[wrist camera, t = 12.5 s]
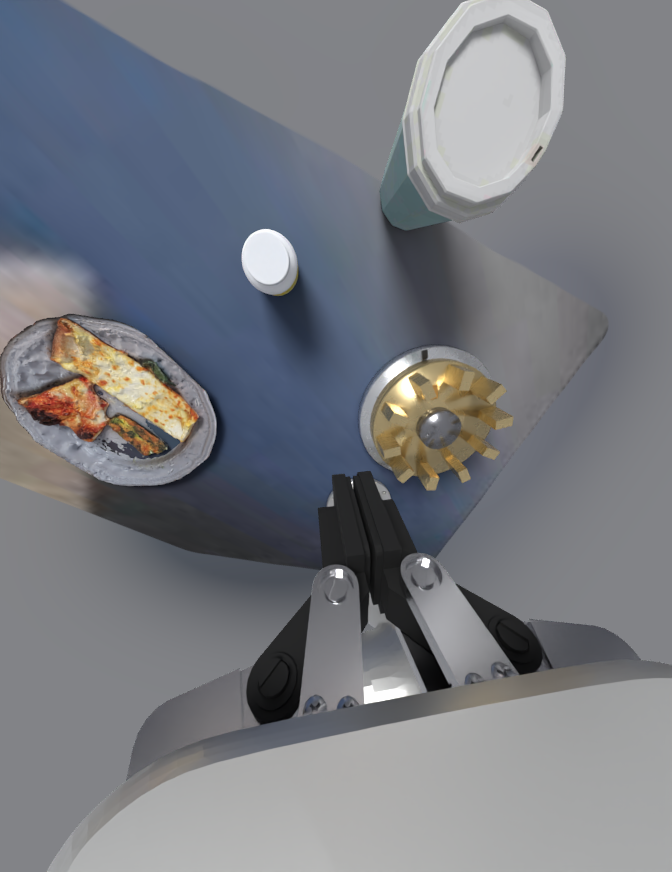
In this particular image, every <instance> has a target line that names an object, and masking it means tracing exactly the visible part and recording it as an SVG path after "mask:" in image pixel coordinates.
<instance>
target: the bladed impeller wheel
mask: <svg viewBox="0 0 672 872" xmlns="http://www.w3.org/2000/svg"><path fill="white" fill-rule="evenodd" d="M505 392H506V389H505V388H504V387H503V386H502V384H499V383H497V382H495V381H492V380H490V379H488V378H486V377H485V376H484V375H483V374H482V373H481V372H480V371H479V370H477V369H475V368H474V367H472V366H469V365H467V364H464V363H462V362H459V361H457V360H453V359H446V358H436V359H429V360H424V361H421V362H418V363H416V364H413V365H411V366H409V367H407V368H406V369H404V370H403V371H401V372H400V373H398V374H397V375H396V376H395V377H393V378H392V379H391V380H390V381H389V382H388V383H387V385H386V386H385V387H384V388H383V390H382V391H381V393H380V394H379V396H378V398H377V400H376V402H375V404H374V407H373V410H372V413H371V419H370V432H371V437H372V440H373V443H374V445H375V447H376V449H377V451H378V453H379V455H380V456H381V458H382V459H383V461H384V462H385V463H386V464H387V465H389V466H390V467H391V469H392V471H393V472H394V474H395V476H396V478H397V479H398V480H399V481H400V482H402V483H404V482H405V481H407V480H408V479H409V478H410V477H411V476H418V478H419V479H420V481H421V482H422V484H423V485H424V487H425V488H426V490H436V487H437V484H438V481H439V476H438V475H437V474H438V473H441V472H444V471H447V470H449V469H451V471H452V472H453V473H454V474H455V475H456V476H457V477H458V479H459V480H460V481H461V482H462V483H464V482H466V481H468V480H469V479H471V478H470V475H469V473H468V471H467V468H466V467H465V466H464V465H463V464H462V462H463V461H465V460H466V459H467V458H468V457H470V456H471V455H472V454H473V453H474V452H475V451H476V450H477V451H478V452H479V453H480V454H481V455H482V456H485V457H488V458H491V459H495V458H496V457H497V456H498V454H499V453H500V452H499V451H498V450H497V449H496V448H494V447H493V446H492V445H490V444H489V443H488V442H486V441H485V438H486V437H487V435H488V433H489V431H490V429H491V427H492V428H493V429H495V430H497V429H501V428H505V427H509V426H512V423H513V416H511V415H509V414H508V413H506V412H504V411H502V410H500V409H499V408H497V407H496V400H497V399H498V398H500V397H501V396H502V395H503V394H504V393H505Z"/></svg>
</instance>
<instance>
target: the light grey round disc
mask: <svg viewBox="0 0 672 872" xmlns="http://www.w3.org/2000/svg"><path fill="white" fill-rule="evenodd" d="M436 358H446V359H453V360H457V361H459V362H462V363H464V364H467V365H469V366H472V367H474V368H475V369H477V370H479V371H480V372H481V373H482V374H483V375H484V376H485V377H486V378H488V379H490V380H491V377H490V375H489V373H488V371H487V369H486V368H485V366H484V365H483V364H482V363H481V362H480V361H479V360H478V359H477V358H476V357H474V356H473V355H471V354H469V353H467V352H465V351H463V350H460V349H456V348H453V347H450V346H445V345H426V346H420V347H417V348H413V349H410V350H408V351H406V352H403V353H402V354H400V355H398V356H396V357H395V358H393V359H392V360H390V361H389V362H388V363H386V364H385V365H384V366H383V367H382V368H381V369H380V370H379V371H378V372H377V373H376V375H375V376H374V377H373V378H372V380H371V381H370V383H369V384H368V386H367V388H366V390H365V392H364V394H363V396H362V399H361V402H360V406H359V411H358V428H359V432H360V436H361V438H362V441H363V443H364V445H365V448H366V449H367V451H368V453H369V454H370V455H371V456H372V458H373V459H374V460H375V461H376V462H378V463H379V464H380V465H382V466H383V467H385V468H387V469H389V470H391V471H392V469H391V467H390V466H389V465H387V464H386V463H385V462H384V461H383V459H382V458H381V456H380V455H379V453H378V451H377V449H376V447H375V445H374V443H373V440H372V437H371V432H370V419H371V413H372V410H373V407H374V404H375V402H376V400H377V398H378V396H379V394H380V393H381V391H382V390H383V388H384V387H385V386H386V385H387V383H388V382H389V381H390V380H391V379H392V378H393V377H395V376H396V375H397V374H398V373H400V372H401V371H403V370H404V369H406V368H407V367H409V366H411V365H413V364H416V363H418V362H421V361H424V360H429V359H436Z"/></svg>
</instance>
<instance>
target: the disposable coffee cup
mask: <svg viewBox="0 0 672 872" xmlns="http://www.w3.org/2000/svg"><path fill="white" fill-rule="evenodd" d="M565 59H566V56H565V54H564V51H563V49H562V46H561V43H560V41H559V38H558V36H557V33H556V31H555V28H554V26H553V24H552V21H551V18H550V16H549V13H548V11H547V10H545V9H544V8H542V7H540V6H538V5H537V4H535V3H533V2H531V1H530V0H469V1H466V2H463V3H461V4H460V6H459V7H458V8H457V10H456V11H455V12H454V14H452V16H451V17H450V18H449V20H448V21H447V22H446V24H445V25H444V26H443V28H442V29H441V30H440V32H439V33H438V34H437V36H436V37H435V38H434V40H433V41H432V42H431V44H430V45H429V46H428V48H427V49H426V50H425V52H424V53H423V54H422V56H421V57H420V58H419V60H418V61H417V65H416V69H415V73H414V77H413V80H412V84H411V89H410V92H409V96H408V100H407V104H406V107H405V110H404V113H403V117H402V120H401V123H400V126H399V129H398V132H397V135H396V138H395V141H394V144H393V147H392V150H391V153H390V156H389V159H388V162H387V165H386V168H385V172H384V176H383V180H382V184H381V188H380V197H381V204H382V211H383V213H384V214H385V216H386V217H387V218H388V220H389V221H390V223H391V224H392V226H395V227H398V228H400V229H403V230H405V231H407V230H412V229H416V228H421V227H425V226H429V225H434V224H438V223H443V222H447V221H452V220H453V221H455V222H458V223H461V222H465V221H468V220H471V219H474V218H477V217H481V216H483V215H487V214H490V213H493V212H494V211H495V210H496V209H497V208H499V207H500V206H501V205H502V204H503V203H504V202H505V201H506V200H507V199H508V198H509V197H510V196H511V195H512V193H513V192H514V191H515V190H516V189H517V188H518V187H519V186H520V185H521V184H522V183H523V182H524V181H525V179H526V178H527V176H528V175H529V173H530V172H531V171H532V170H533V169H534V168H535V167H536V165H537V164H538V162H539V160H540V159H541V157H542V156H543V154H544V153H545V151H546V149H547V146H548V144H549V142H550V139H551V137H552V135H553V133H554V130H555V128H556V126H557V124H558V121H559V119H560V117H561V114H562V112H563V95H564V78H565Z"/></svg>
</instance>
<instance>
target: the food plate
mask: <svg viewBox="0 0 672 872" xmlns="http://www.w3.org/2000/svg"><path fill="white" fill-rule="evenodd" d="M147 337H148V336H147V335H146V334H144V333H142V332H140V331H139V330H137V329H135V328H133V327H132V326H130V325H127V324H124V323H122V322H118V321H115V320H109V319H103V318H94V317H89V316H88V317H87V316H81V315H75V314H67V315H63V316H61V317H58V318H57V317H55V318H47V319H42V320H39V321H36V322H35V323H34V324H33V325H30V326H28V327H26V328H25V329H24V331H21V332H20V333H19V334H17V335H15V336H14V337H13V338H12V339H11V340H10V341H9V343H8V344H7V346H6V347H5V348H4V351H3V353H2V354H1V356H0V378H1V382H0V383H1V393H2V398H3V400H4V401H5V403H6V404H7V406H8V408H9V409H11V411H12V412H13V413H14V414H15V416H16V420H17V421H18V423H19V424H20V425H21V426H23V428H25V429H26V431H28V433H29V434H30V435H31V437H32V438H33V440H35V442H37V443H39V444H40V445H41V446H44V447H45V448H46V449H49V450H50V451H51V452H53V453H55V454H56V455H57V456H59V457H61V458H63V459H65V460H66V461H67V462H69V463H71V464H73V465H75V466H76V467H79V469H82V470H83V471H85V472H87V473H89V474H92V475H94V477H97V478H98V479H99V480H102V481H106V482H109V483H113V484H117V485H126V486H147V485H148V486H151V485H162V484H166V483H169V482H172V481H175V480H178V479H181V478H182V477H184V476H185V475H187V474H188V473H190V472H191V471H192V470H194V469H195V468H196V467H197V466H199V465H200V464H201V463H202V462H204V461H205V460H206V459H207V458H208V457H209V455H210V453H211V449H212V447H213V444H214V441H215V437H216V433H217V432H216V430H217V428H216V427H217V425H216V424H217V422H216V417H215V413H214V412H213V411H214V409H213V407H212V405H211V402H210V400H209V397H208V394H207V393H206V391H205V390H204V389H203V388H201V386H200V385H199V384H198V383H197V382H196V381H195V380H193V379H192V378H191V377H190V376H189V375H188V374H187V373H186V372H185V370H183V369H182V368H181V367H180V366H179V365H178V364H177V363H176V362H175V361H174V360H173V359H171V358H170V357H169V356H168V355H167V354H166V353H165V352H164V351H163V350H162V349H161V348H159V347H158V346H157V345H156V344H155V343H154V342H153V341H152V340H150V338H148V339H147ZM98 391H102V392H103V393H104V395H103V396H101V395H100V394H99V393H98ZM120 406H121V407H120ZM146 419H147V420H148V422H149V423H152V424H154V425H155V426H158V427H159V428H162V429H163V431H165V432H167V433H169V434H170V435H172V436H173V437H174V438H176V439H179V440H180V441H181V443H180V444H178V445H177V446H176V447H175V448H174V449H172V450H171V451H170V452H168V453H167V454H166V455H164V456H160V457H158V458H157V457H154V458H153V459H150V458H146V459H145V460H142V459H139V458H138V459H137V458H136V457H135V458H134V459H133V458H129V456H128V455H125V454H122V453H119V455H121V456H118V455H117V451H116V453H114V452H111V451H109V450H111V448H110V447H107V445H106V443H105V444H104V445H105V446H106V448H108V449H106V448H105V446H103V445H102V443H104V442H102V440H103V439H104V440H106V442H107V443H110V440H112V441H113V442H115V443H117V444H118V447H119V446H121V447H119V448H120V449H122V450H123V451H124V449H123V445H121V443H126V444H127V442H128V443H129V444H131V445H133V446H134V447H135V448H136V449H137V450H138V451H140V453H142V454H143V455H146V456H147V455H150V454H152V453H157V454H159V453H161V452H162V451H164V450H167V449H168V448H167V446H168V445H167V444H166V443H165V441H163V440H162V439H161V438H160V437H159V436H157V435H156V434H155V433H154V432H153V430H152V429H151V430H152V431H151V430H150V428H149V427H147V424H146V423H145V421H146ZM141 423H142V424H141ZM107 438H108V439H107ZM95 439H97V440H95ZM98 439H100V440H98ZM93 442H94V443H96V444H94V443H93ZM99 442H100V443H99ZM97 444H98V445H97ZM86 445H87V446H86ZM96 446H98V447H96ZM100 447H103V448H104V449H106V450H107V451H105V450H103V449H101V448H100ZM124 448H127V447H124ZM131 450H132V449H131ZM143 457H144V456H143Z"/></svg>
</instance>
